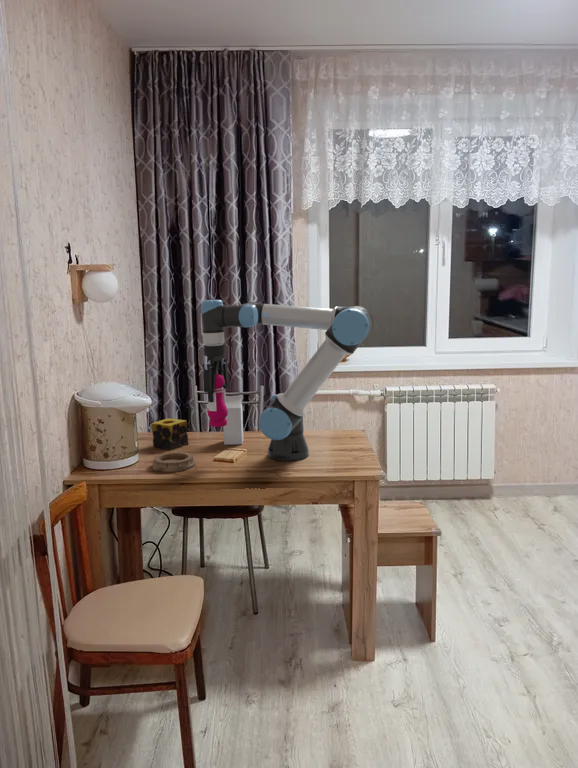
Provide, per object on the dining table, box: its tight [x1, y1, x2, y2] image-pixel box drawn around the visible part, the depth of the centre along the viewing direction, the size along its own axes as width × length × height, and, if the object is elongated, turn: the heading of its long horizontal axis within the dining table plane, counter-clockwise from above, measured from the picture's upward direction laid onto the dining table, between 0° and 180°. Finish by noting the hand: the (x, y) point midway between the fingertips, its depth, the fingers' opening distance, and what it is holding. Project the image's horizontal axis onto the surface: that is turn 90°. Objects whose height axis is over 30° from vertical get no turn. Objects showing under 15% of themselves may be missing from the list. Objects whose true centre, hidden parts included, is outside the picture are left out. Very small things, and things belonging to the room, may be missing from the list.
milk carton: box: [222, 395, 244, 445], centre depth 272 cm, size 7×7×19 cm
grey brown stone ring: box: [152, 451, 196, 473], centre depth 244 cm, size 15×15×3 cm
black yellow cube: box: [151, 418, 189, 451], centre depth 270 cm, size 10×10×10 cm
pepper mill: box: [207, 372, 228, 428], centre depth 242 cm, size 7×7×20 cm
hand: (217, 408), depth 243 cm, fingers closed on pepper mill, 6 cm apart
